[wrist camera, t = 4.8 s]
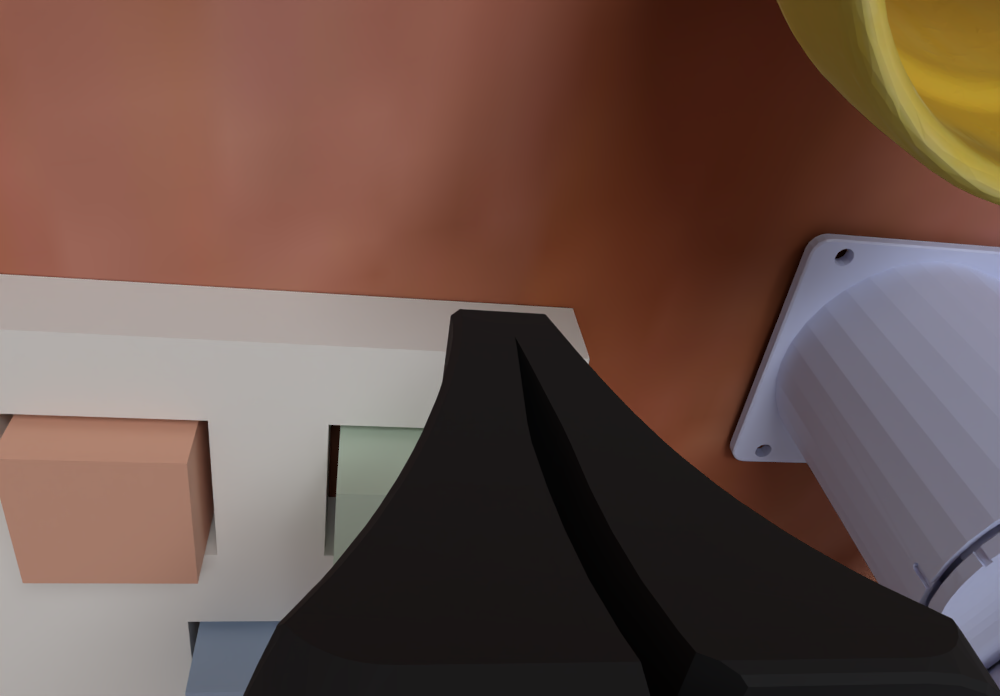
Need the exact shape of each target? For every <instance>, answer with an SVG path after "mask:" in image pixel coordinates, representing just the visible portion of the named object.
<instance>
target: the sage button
mask: <svg viewBox="0 0 1000 696" xmlns="http://www.w3.org/2000/svg"><path fill="white" fill-rule="evenodd" d="M423 429H424V428H410V427H380V426H350V425H340V441H339V457H338V473H337V489H336V510H335V534H334V557H333V565H334V564H335V563H336V562H337V560H338V559H339V558H340V557H341V555H342V554H343V553H344V552H345V551H346V549H347V548H348V547H349V546H350V544H351V543H352V542H353V541H354V539H355V538H356V537H357V536H358V534H359V533H360V532H361V531H362V529H363V528H364V527H365V526H366V524H367V523H368V521H369V520H370V519H371V517H372V516H373V514H374V513H375V512H376V510H377V509H378V507H379V506H380V504H381V503H382V501H383V500H384V498H385V497H386V495H387V493H388V492H389V490H390V489H391V487H392V486H393V484H394V483H395V481H396V480H397V478H398V476H399V475H400V473H401V471H402V469H403V467H404V466H405V464H406V462H407V460H408V459H409V457H410V455H411V453H412V451H413V449H414V447H415V445H416V443H417V441H418V439H419V437H420V435H421V433H422V431H423Z"/></svg>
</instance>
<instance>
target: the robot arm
mask: <svg viewBox="0 0 1000 696" xmlns="http://www.w3.org/2000/svg"><path fill="white" fill-rule="evenodd" d="M843 249H847V252H846V253H845V254H844V256H842V257H840V258H837V259H835V256H836V255H837V254H838V252H840V251H841V250H843ZM761 445H765V446H763V447H762V448H758V447H760V446H761ZM757 448H758V449H757ZM730 449H731V451H732V453H733V455H734V457H735V458H736V459H737V460H741V461H759V462H793V463H807V464H808V466H809V467H810V469H811V471H812V472H813V474H814V476H815V477H816V479H817V481H818V482H819V484H820V486H821V487H822V489H823V491H824V493H825V494H826V496H827V498H828V499H829V501H830V503H831V504H832V506H833V508H834V509H835V511H836V513H837V514H838V516H839V518H840V519H841V521H842V523H843V525H844V526H845V528H846V530H847V531H848V533H849V535H850V536H851V538H852V540H853V541H854V543H855V545H856V546H857V548H858V550H859V552H860V553H861V555H862V557H863V558H864V560H865V562H866V563H867V565H868V567H869V568H870V570H871V572H872V573H873V575H874V577H875V579H876V580H877V582H878V583H876V582H874V581H872V580H870V579H868V578H866V577H864V576H862V575H860V574H858V573H856V572H855V571H853V570H851V569H849V568H847V567H846V566H844V565H842V564H840V563H838V562H837V561H835V560H833V559H831V558H829V557H828V556H826V555H824V554H822V553H820V552H819V551H817V550H815V549H813V548H811V547H810V546H808V545H807V544H805V543H803V542H802V541H800V540H798V539H797V538H795V537H793V536H792V535H790V534H788V533H787V532H785V531H783V530H782V529H780V528H779V527H777V526H776V525H774V524H773V523H771V522H770V521H768V520H767V519H765V518H764V517H762V516H761V515H759V514H758V513H756V512H755V511H753V510H752V509H750V508H749V507H747V506H746V505H744V504H743V503H741V502H740V501H738V500H737V499H736V498H734V497H733V496H731V495H730V494H729V493H727V492H726V491H725V490H723V489H722V488H720V487H719V486H718V485H716V484H715V483H714V482H713V481H711V480H710V479H709V478H708V477H706V476H705V475H704V474H703V473H701V472H700V471H699V470H698V469H696V468H695V467H694V466H693V465H691V464H690V463H689V462H687V461H686V460H685V459H684V458H682V457H681V456H680V455H679V454H678V453H677V452H676V451H674V450H673V449H672V448H671V447H670V446H669V445H667V444H666V443H665V442H664V441H663V440H662V439H661V438H660V437H659V436H658V435H657V434H656V433H655V432H653V431H652V430H651V429H650V428H649V427H648V426H647V425H646V424H645V423H644V422H643V421H642V420H641V419H640V418H639V417H638V416H636V415H635V414H634V412H633V411H632V410H631V409H630V408H629V407H628V406H627V405H626V404H625V403H624V402H623V401H622V400H621V399H620V398H619V397H618V396H617V395H616V394H615V393H614V392H613V391H612V390H611V389H610V388H609V387H608V385H607V384H606V383H605V382H604V381H603V380H602V379H601V378H600V377H599V376H598V375H597V373H596V372H595V371H594V370H593V369H592V368H591V367H590V366H589V364H588V363H587V362H586V361H585V360H584V359H583V357H582V356H581V355H580V354H579V353H578V352H577V351H576V349H575V348H574V347H573V346H572V345H571V344H570V342H569V341H568V340H567V339H566V338H565V336H564V335H563V334H562V333H561V332H560V330H559V329H558V328H557V327H556V326H555V325H554V323H553V322H552V321H551V320H550V319H549V318H548V317H547V315H546V314H537V313H520V312H503V311H486V310H468V309H459V310H458V311H456V312H455V313H454V314H452V315H451V317H450V325H449V333H448V341H447V348H446V356H445V364H444V372H443V380H442V384H441V387H440V390H439V393H438V396H437V399H436V401H435V403H434V406H433V408H432V410H431V413H430V415H429V417H428V420H427V422H426V424H425V427H424V429H423V431H422V433H421V435H420V437H419V439H418V441H417V443H416V445H415V447H414V449H413V451H412V453H411V455H410V457H409V459H408V460H407V462H406V464H405V466H404V467H403V469H402V471H401V473H400V475H399V476H398V478H397V480H396V481H395V483H394V484H393V486H392V487H391V489H390V490H389V492H388V493H387V495H386V497H385V498H384V500H383V501H382V503H381V504H380V506H379V507H378V509H377V510H376V512H375V513H374V514H373V516H372V517H371V519H370V520H369V521H368V523H367V524H366V526H365V527H364V528H363V529H362V531H361V532H360V533H359V534H358V536H357V537H356V538H355V539H354V541H353V542H352V543H351V544H350V546H349V547H348V548H347V549H346V551H345V552H344V553H343V554H342V555H341V557H340V558H339V559H338V560H337V562H336V563H335V564H334V565H333V567H332V568H331V569H330V570H329V571H328V572H327V573H326V575H325V576H324V577H323V578H322V579H321V580H320V581H319V582H318V583H317V584H316V585H315V586H314V587H313V588H312V589H311V590H310V591H309V592H308V593H307V594H306V595H305V596H304V597H303V599H302V600H301V601H300V602H299V603H298V604H297V605H296V606H295V607H294V608H293V609H292V610H291V611H290V612H289V613H288V614H287V615H286V616H285V617H284V618H283V619H282V620H281V621H280V622H279V623H278V624H277V626H276V629H275V631H274V632H273V634H272V636H271V638H270V640H269V642H268V644H267V646H266V648H265V650H264V652H263V654H262V656H261V658H260V660H259V662H258V664H257V666H256V668H255V671H254V673H253V675H252V677H251V679H250V681H249V684H248V686H247V688H246V690H245V692H244V695H243V696H1000V247H991V246H978V245H966V244H953V243H940V242H928V241H915V240H903V239H890V238H878V237H865V236H853V235H840V234H821V235H819V236H817V237H815V238H813V239H812V240H811V241H810V242H809V243H808V245H807V246H806V248H805V250H804V253H803V256H802V258H801V261H800V263H799V266H798V268H797V271H796V274H795V276H794V279H793V281H792V284H791V287H790V289H789V292H788V294H787V297H786V300H785V302H784V305H783V307H782V310H781V312H780V315H779V318H778V320H777V323H776V325H775V328H774V331H773V333H772V336H771V338H770V341H769V344H768V346H767V349H766V351H765V354H764V356H763V359H762V362H761V364H760V367H759V369H758V372H757V375H756V377H755V380H754V382H753V385H752V388H751V390H750V393H749V395H748V398H747V400H746V403H745V406H744V408H743V411H742V413H741V416H740V419H739V421H738V424H737V426H736V429H735V431H734V434H733V437H732V439H731V442H730Z"/></svg>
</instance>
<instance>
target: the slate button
mask: <svg viewBox="0 0 1000 696" xmlns="http://www.w3.org/2000/svg"><path fill="white" fill-rule="evenodd" d="M279 622H280V621H220V622H200V624H199V629H198V634H197V639H196V643H195V648H194V653H193V658H192V663H191V667H190V672H189V677H188V682H187V686H186V691H185V695H186V696H243V695H244V692H245V690H246V688H247V686H248V684H249V681H250V679H251V677H252V675H253V673H254V671H255V668H256V666H257V664H258V662H259V660H260V658H261V656H262V654H263V652H264V650H265V648H266V646H267V644H268V642H269V640H270V638H271V636H272V634H273V632H274V631H275V629H276V626H277V624H278V623H279Z"/></svg>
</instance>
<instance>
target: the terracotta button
mask: <svg viewBox="0 0 1000 696" xmlns="http://www.w3.org/2000/svg"><path fill="white" fill-rule="evenodd" d="M0 500H1V504H2V507H3V511H4V515H5V519H6V522H7V526H8V530H9V534H10V537H11V541H12V545H13V549H14V552H15V556H16V560H17V564H18V567H19V571H20V575H21V579H22V582H23V583H131V584H198V581H199V576H200V572H201V567H202V563H203V558H204V554H205V549H206V545H207V540H208V536H209V531H210V527H211V522H212V518H213V513H214V500H213V486H212V472H211V458H210V443H209V429H208V421H202V420H172V419H143V418H113V417H83V416H54V415H24V414H14V415H13V417H12V419H11V421H10V423H9V424H8V426H7V428H6V430H5V432H4V433H3V435H2V437H1V439H0Z"/></svg>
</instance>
